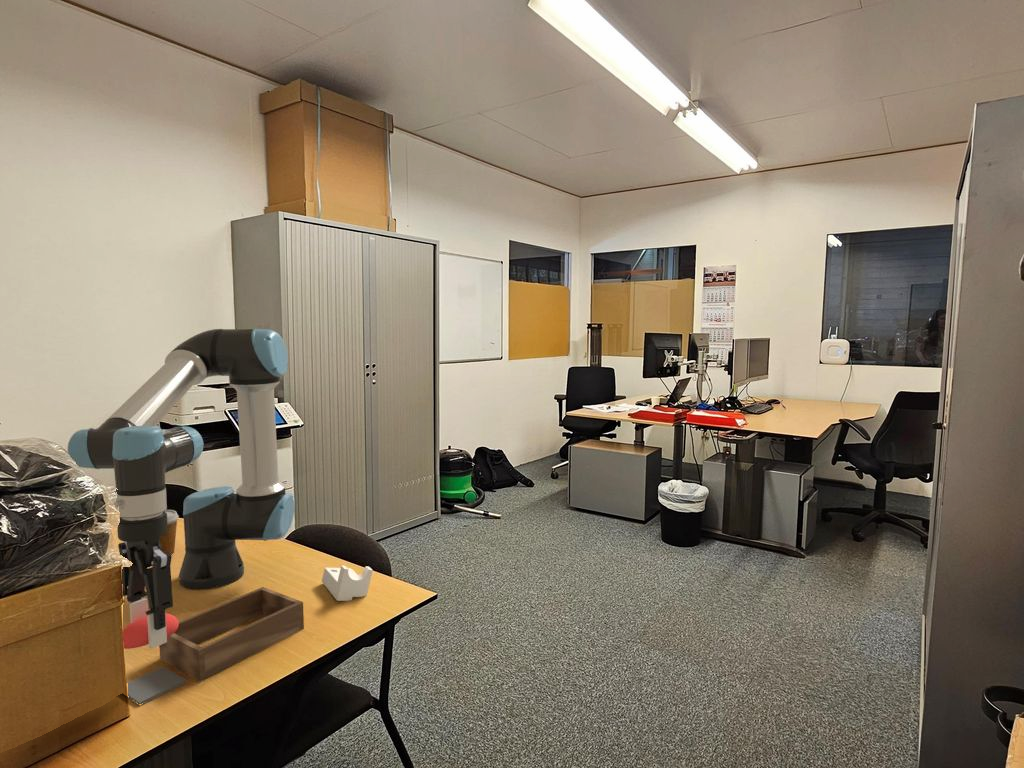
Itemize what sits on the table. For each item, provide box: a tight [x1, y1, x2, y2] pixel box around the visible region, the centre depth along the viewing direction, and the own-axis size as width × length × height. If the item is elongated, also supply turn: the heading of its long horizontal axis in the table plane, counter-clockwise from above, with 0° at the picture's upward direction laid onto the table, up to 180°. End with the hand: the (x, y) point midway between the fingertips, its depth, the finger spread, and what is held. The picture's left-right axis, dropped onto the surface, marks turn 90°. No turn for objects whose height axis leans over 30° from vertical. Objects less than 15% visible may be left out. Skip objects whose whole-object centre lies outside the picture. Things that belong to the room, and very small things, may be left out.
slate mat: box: [127, 666, 187, 705], centre depth 107 cm, size 8×8×1 cm
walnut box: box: [158, 586, 305, 682], centre depth 122 cm, size 14×23×6 cm, turn 148°
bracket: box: [321, 565, 373, 602], centre depth 147 cm, size 13×7×8 cm, turn 34°
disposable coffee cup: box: [159, 509, 180, 556], centre depth 169 cm, size 10×10×12 cm
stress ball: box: [122, 612, 179, 650], centre depth 106 cm, size 5×9×6 cm
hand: (149, 639), depth 106 cm, fingers closed on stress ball, 5 cm apart
